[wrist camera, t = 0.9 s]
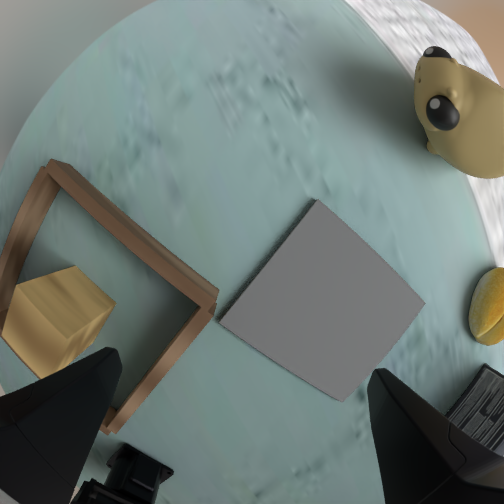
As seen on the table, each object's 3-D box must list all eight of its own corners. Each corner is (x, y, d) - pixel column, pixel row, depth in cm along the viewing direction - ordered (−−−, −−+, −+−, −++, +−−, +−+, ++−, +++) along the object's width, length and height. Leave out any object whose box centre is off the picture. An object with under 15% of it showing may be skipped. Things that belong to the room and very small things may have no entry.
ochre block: (93, 342, 22) (46, 384, 14) (55, 306, 21) (1, 335, 13) (116, 303, 21) (66, 339, 13) (75, 265, 21) (16, 284, 13)
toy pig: (387, 62, 20) (446, 6, 9) (474, 115, 21) (539, 91, 10) (377, 148, 21) (459, 110, 10) (470, 196, 22) (549, 192, 11)
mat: (340, 399, 23) (342, 402, 23) (219, 320, 22) (218, 322, 21) (422, 301, 22) (425, 303, 22) (316, 199, 21) (318, 199, 21)
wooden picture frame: (121, 421, 23) (112, 438, 20) (1, 308, 21) (-16, 315, 18) (224, 293, 22) (222, 305, 19) (66, 161, 20) (47, 155, 17)
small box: (451, 435, 25) (487, 475, 15) (433, 426, 25) (474, 472, 14) (496, 377, 25) (541, 407, 14) (484, 361, 24) (536, 394, 14)
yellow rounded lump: (492, 252, 23) (517, 256, 19) (510, 302, 24) (531, 309, 20) (455, 308, 23) (479, 318, 19) (477, 352, 24) (497, 364, 20)
